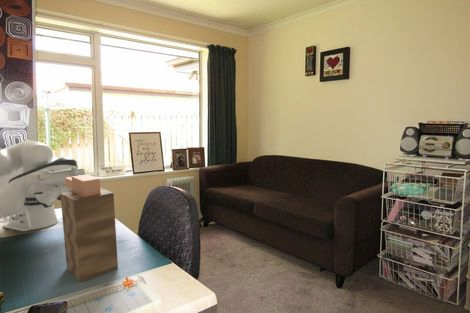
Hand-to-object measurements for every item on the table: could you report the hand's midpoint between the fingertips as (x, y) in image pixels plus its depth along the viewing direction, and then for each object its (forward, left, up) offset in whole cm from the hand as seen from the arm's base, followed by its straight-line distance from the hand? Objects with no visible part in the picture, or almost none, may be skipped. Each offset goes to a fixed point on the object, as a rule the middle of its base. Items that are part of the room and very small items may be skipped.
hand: (61, 170), depth 115 cm
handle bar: (+15, -10, -4) cm, 18 cm away
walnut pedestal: (+19, -13, -30) cm, 38 cm away
